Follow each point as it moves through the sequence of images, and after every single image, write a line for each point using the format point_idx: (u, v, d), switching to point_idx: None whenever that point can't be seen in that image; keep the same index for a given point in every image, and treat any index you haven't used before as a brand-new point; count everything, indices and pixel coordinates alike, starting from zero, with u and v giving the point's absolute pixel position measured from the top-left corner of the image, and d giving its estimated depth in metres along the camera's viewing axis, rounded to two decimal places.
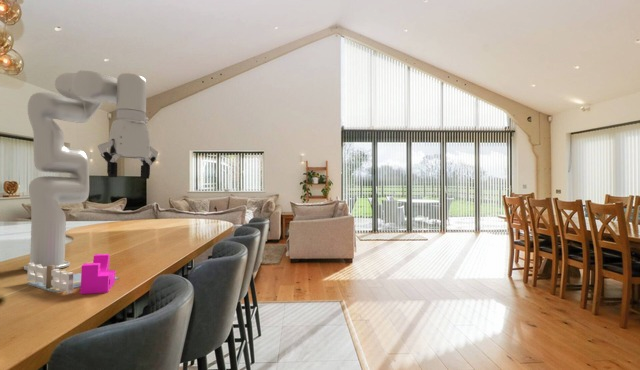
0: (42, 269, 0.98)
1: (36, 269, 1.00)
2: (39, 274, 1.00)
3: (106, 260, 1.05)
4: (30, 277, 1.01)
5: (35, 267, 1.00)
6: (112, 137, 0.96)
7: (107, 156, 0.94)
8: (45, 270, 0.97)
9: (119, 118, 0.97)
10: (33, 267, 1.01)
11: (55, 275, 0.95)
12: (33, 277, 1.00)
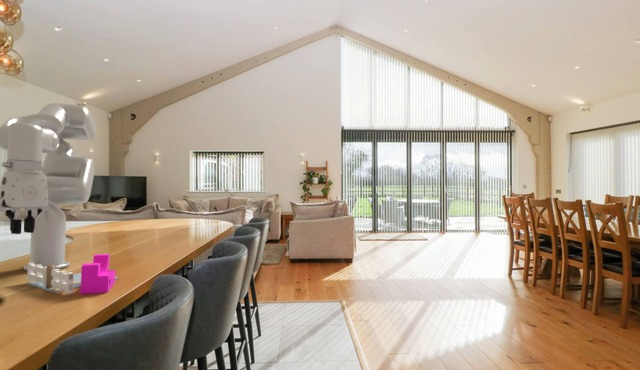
0: (42, 269, 0.98)
1: (36, 269, 1.00)
2: (39, 274, 1.00)
3: (106, 260, 1.05)
4: (30, 277, 1.01)
5: (35, 267, 1.00)
6: None
7: None
8: (45, 270, 0.97)
9: None
10: (33, 267, 1.01)
11: (55, 275, 0.95)
12: (33, 277, 1.00)
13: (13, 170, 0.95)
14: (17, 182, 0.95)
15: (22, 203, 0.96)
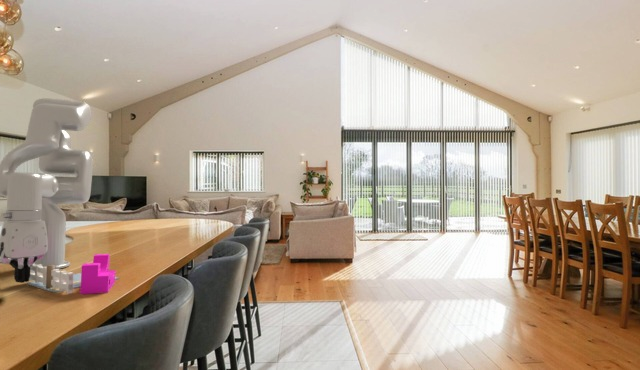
0: (42, 269, 0.98)
1: (37, 269, 1.00)
2: (39, 274, 1.00)
3: (106, 260, 1.05)
4: (30, 277, 1.02)
5: (35, 267, 1.00)
6: None
7: None
8: (45, 270, 0.97)
9: None
10: (33, 267, 1.01)
11: (55, 275, 0.95)
12: (34, 277, 1.01)
13: (13, 221, 0.95)
14: (16, 232, 0.95)
15: (22, 253, 0.96)
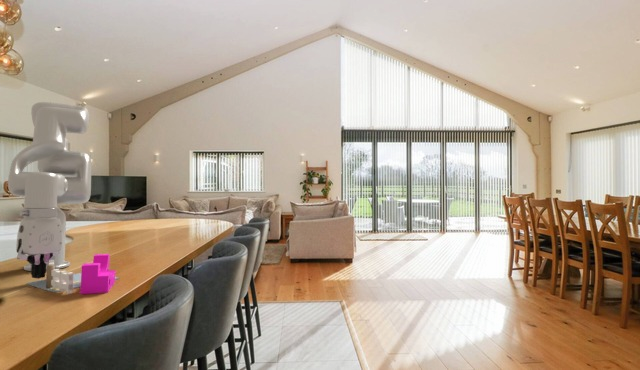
0: None
1: None
2: None
3: (106, 260, 1.05)
4: None
5: None
6: None
7: None
8: None
9: None
10: None
11: (55, 275, 0.95)
12: None
13: (30, 218, 0.99)
14: (33, 229, 0.98)
15: (38, 249, 0.99)
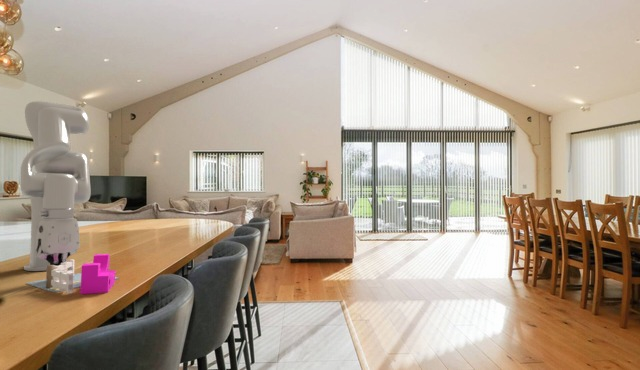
0: None
1: None
2: None
3: (106, 260, 1.05)
4: None
5: None
6: None
7: None
8: None
9: None
10: None
11: (55, 275, 0.95)
12: None
13: (49, 218, 1.02)
14: (52, 230, 1.01)
15: (57, 249, 1.02)
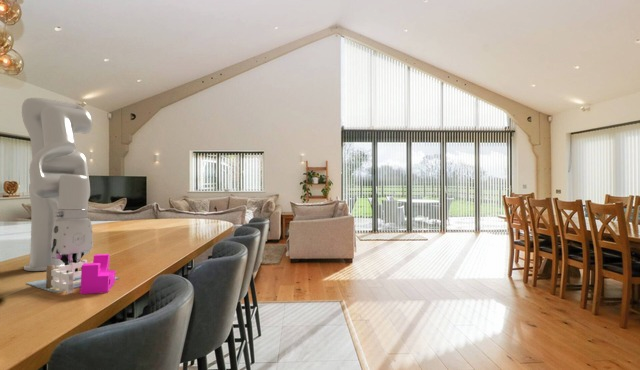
0: None
1: None
2: None
3: (106, 260, 1.05)
4: None
5: None
6: None
7: None
8: None
9: None
10: None
11: (55, 275, 0.95)
12: None
13: (64, 219, 1.03)
14: (67, 230, 1.03)
15: (72, 249, 1.04)
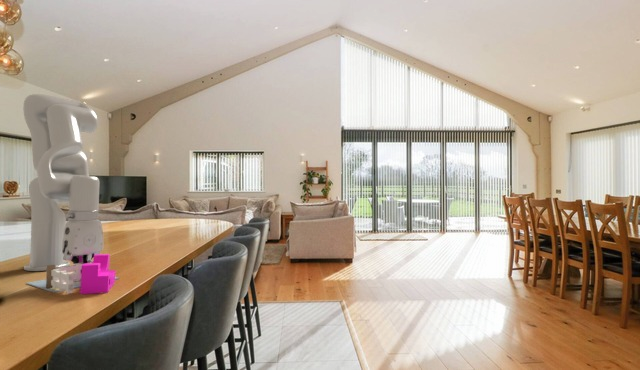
0: None
1: None
2: (76, 273, 1.03)
3: (106, 260, 1.05)
4: None
5: None
6: None
7: None
8: None
9: None
10: None
11: (55, 275, 0.95)
12: None
13: (75, 220, 1.03)
14: (78, 231, 1.02)
15: (83, 250, 1.04)
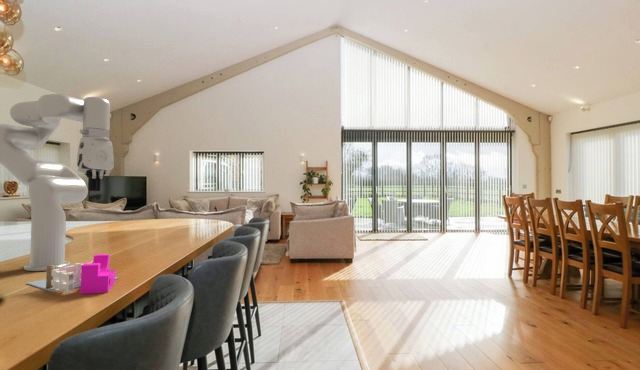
0: None
1: None
2: (76, 273, 1.03)
3: (106, 260, 1.05)
4: None
5: None
6: None
7: None
8: None
9: None
10: None
11: (55, 275, 0.95)
12: None
13: (89, 136, 1.12)
14: (92, 146, 1.12)
15: (96, 164, 1.13)
